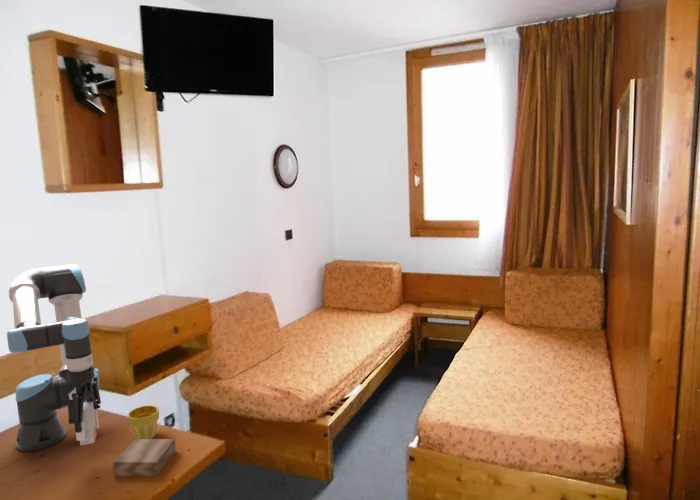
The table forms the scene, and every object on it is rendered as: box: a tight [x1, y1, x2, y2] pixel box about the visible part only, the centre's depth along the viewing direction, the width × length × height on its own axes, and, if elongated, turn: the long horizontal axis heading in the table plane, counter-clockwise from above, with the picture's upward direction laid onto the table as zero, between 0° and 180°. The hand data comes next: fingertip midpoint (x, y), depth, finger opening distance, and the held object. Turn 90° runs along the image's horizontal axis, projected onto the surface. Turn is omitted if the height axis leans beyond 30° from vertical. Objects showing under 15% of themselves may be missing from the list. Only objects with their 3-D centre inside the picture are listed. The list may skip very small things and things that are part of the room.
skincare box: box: [78, 402, 98, 446], centre depth 162 cm, size 6×4×12 cm
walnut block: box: [112, 438, 177, 477], centre depth 164 cm, size 14×14×5 cm
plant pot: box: [127, 404, 160, 439], centre depth 181 cm, size 10×10×10 cm
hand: (88, 433), depth 163 cm, fingers closed on skincare box, 7 cm apart
